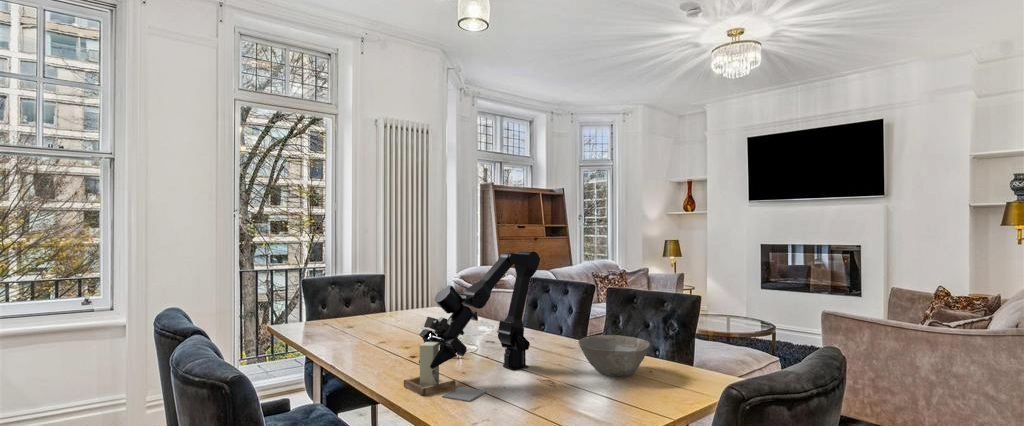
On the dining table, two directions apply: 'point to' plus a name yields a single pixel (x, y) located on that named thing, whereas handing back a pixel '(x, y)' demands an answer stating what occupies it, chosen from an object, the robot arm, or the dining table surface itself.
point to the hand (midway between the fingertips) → (425, 365)
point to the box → (428, 364)
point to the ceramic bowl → (614, 353)
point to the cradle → (415, 387)
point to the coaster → (464, 394)
